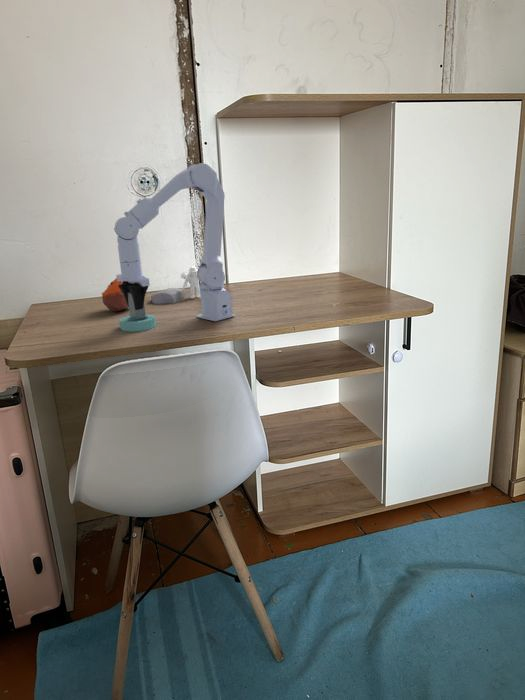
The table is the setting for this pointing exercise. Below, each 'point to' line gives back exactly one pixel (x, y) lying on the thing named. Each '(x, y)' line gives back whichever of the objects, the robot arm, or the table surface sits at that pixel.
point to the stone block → (168, 296)
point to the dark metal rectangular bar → (134, 313)
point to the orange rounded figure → (114, 297)
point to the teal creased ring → (137, 323)
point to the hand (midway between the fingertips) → (136, 308)
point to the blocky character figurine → (192, 281)
